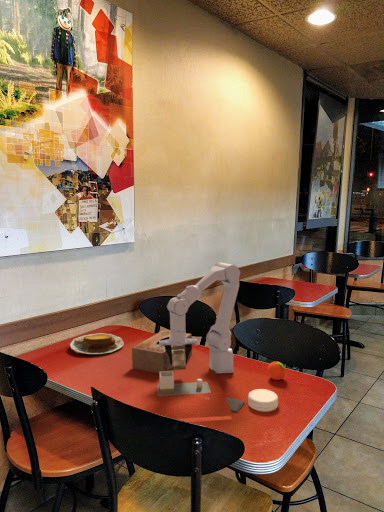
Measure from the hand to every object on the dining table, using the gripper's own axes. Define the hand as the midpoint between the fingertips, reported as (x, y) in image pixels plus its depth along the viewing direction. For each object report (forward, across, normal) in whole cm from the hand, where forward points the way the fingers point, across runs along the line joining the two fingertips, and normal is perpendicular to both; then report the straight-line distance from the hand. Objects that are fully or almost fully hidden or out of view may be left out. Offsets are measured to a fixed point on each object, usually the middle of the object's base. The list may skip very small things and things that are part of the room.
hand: (178, 363), depth 155 cm
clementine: (+7, +38, -4) cm, 39 cm away
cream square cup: (+6, -5, -9) cm, 12 cm away
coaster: (+8, +27, -22) cm, 36 cm away
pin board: (+7, +1, -9) cm, 11 cm away
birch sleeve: (+1, 0, 0) cm, 1 cm away
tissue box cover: (+8, -5, +19) cm, 21 cm away
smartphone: (+8, +13, -19) cm, 24 cm away
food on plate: (+7, -36, +42) cm, 56 cm away
